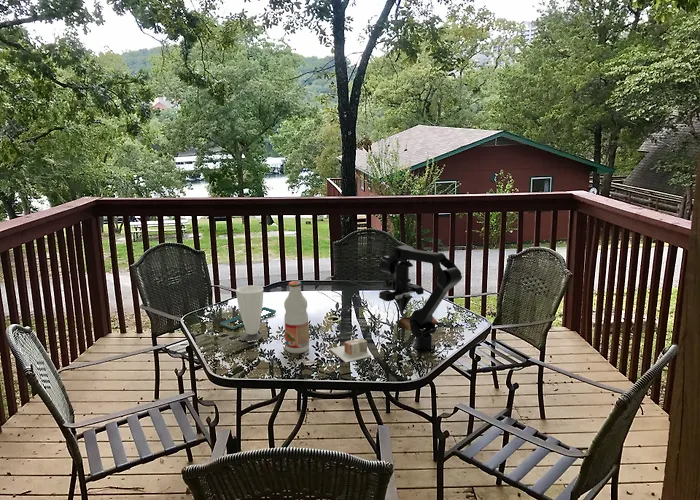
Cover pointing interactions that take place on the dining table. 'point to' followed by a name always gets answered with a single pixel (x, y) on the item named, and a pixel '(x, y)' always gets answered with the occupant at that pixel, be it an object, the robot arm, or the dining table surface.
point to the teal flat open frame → (241, 317)
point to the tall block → (355, 346)
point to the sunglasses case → (406, 325)
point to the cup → (250, 310)
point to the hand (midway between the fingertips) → (401, 312)
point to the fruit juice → (296, 320)
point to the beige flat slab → (346, 357)
